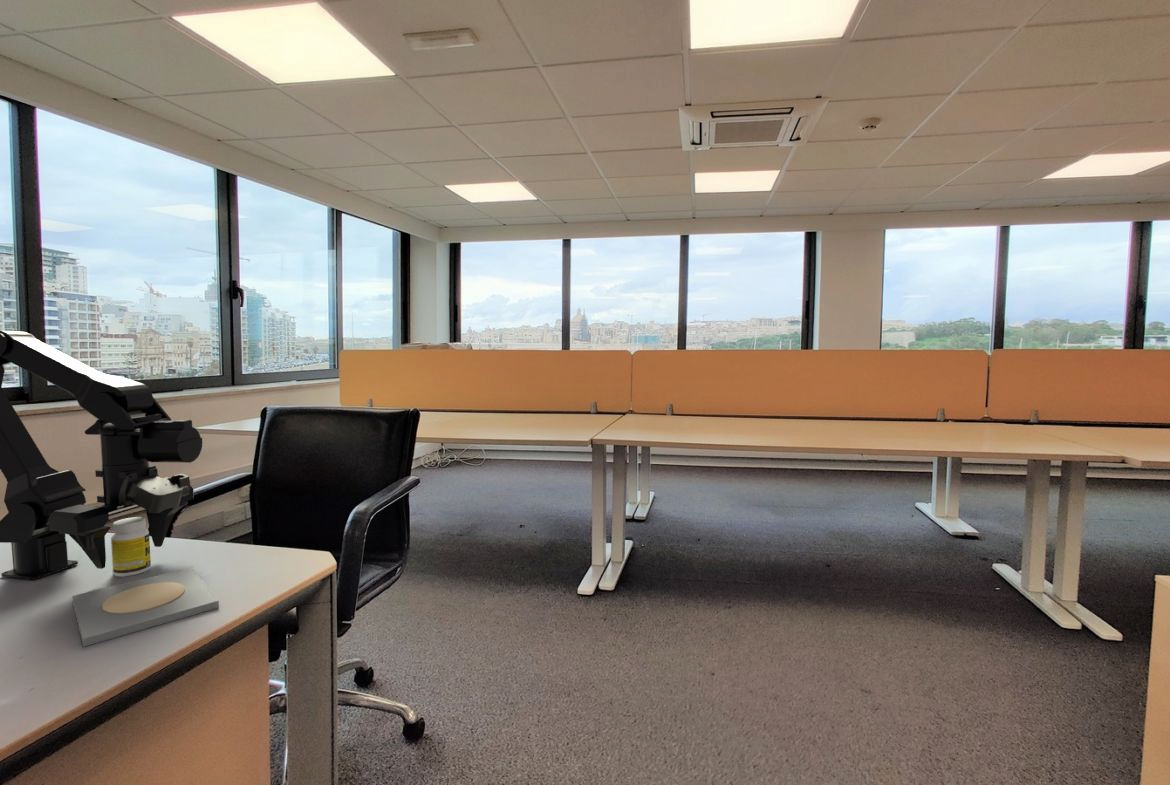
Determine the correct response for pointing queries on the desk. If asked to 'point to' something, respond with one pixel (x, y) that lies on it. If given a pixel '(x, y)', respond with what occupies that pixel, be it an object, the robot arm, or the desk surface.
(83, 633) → the slate board
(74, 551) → the desk surface
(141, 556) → the supplement bottle
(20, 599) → the desk surface
